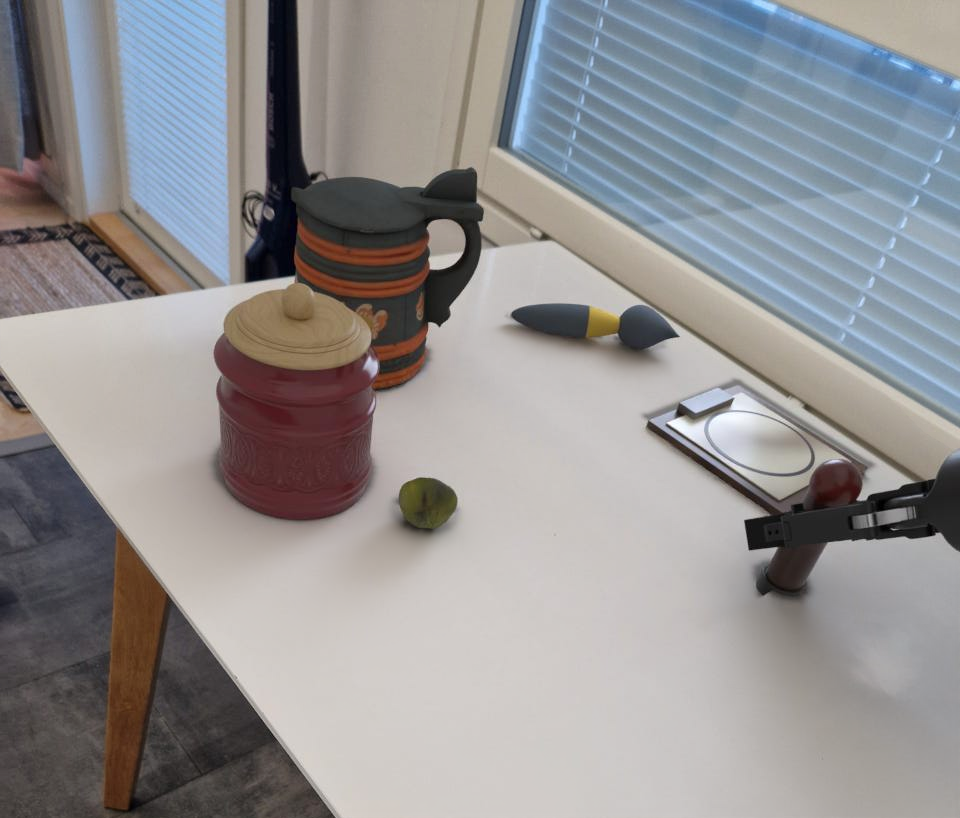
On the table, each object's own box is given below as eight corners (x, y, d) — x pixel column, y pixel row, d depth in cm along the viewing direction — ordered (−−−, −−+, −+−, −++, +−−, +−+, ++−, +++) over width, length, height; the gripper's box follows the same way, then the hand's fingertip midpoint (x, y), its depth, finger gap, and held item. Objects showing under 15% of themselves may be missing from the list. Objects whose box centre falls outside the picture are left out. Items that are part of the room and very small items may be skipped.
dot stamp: (808, 595, 80) (881, 470, 70) (783, 611, 78) (854, 485, 68) (772, 569, 82) (839, 443, 72) (747, 584, 80) (812, 457, 70)
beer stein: (445, 325, 104) (472, 138, 90) (476, 394, 94) (511, 197, 80) (278, 319, 98) (278, 120, 84) (293, 392, 89) (296, 181, 75)
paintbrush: (510, 339, 104) (518, 297, 100) (508, 319, 107) (516, 278, 104) (674, 363, 106) (687, 323, 103) (667, 342, 110) (680, 303, 106)
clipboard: (864, 473, 96) (872, 459, 95) (781, 520, 87) (788, 505, 86) (734, 390, 104) (740, 377, 103) (645, 426, 95) (650, 411, 94)
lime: (388, 515, 78) (394, 468, 75) (436, 503, 80) (443, 457, 77) (413, 546, 76) (420, 499, 72) (461, 533, 78) (470, 486, 75)
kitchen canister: (377, 523, 77) (396, 333, 65) (221, 524, 74) (209, 323, 61) (361, 436, 86) (375, 253, 73) (220, 433, 82) (209, 241, 70)
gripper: (941, 573, 55) (700, 589, 76) (1106, 531, 62) (841, 557, 83) (924, 451, 54) (686, 502, 76) (1093, 422, 61) (830, 476, 82)
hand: (767, 531), depth 79 cm, fingers closed on dot stamp, 3 cm apart
